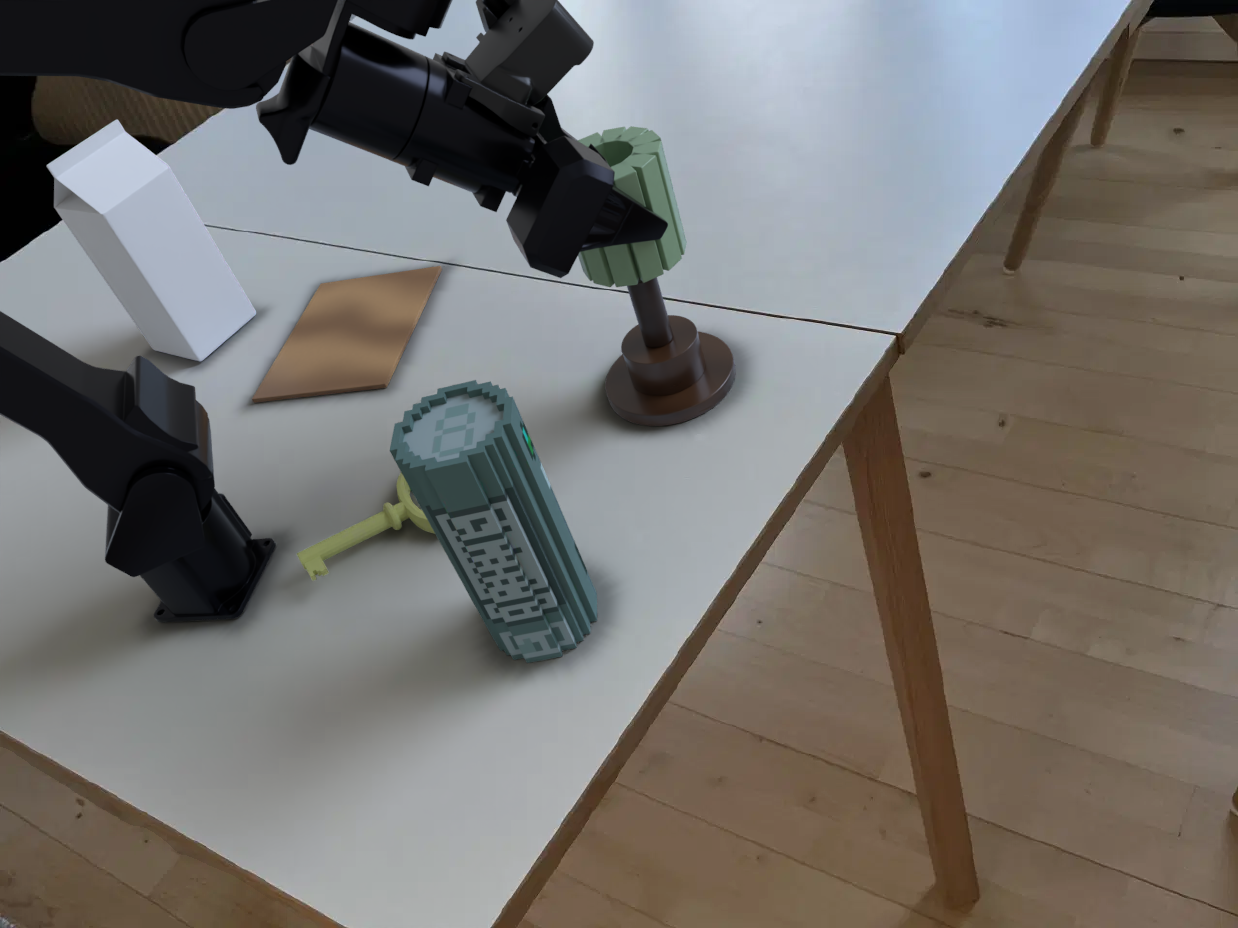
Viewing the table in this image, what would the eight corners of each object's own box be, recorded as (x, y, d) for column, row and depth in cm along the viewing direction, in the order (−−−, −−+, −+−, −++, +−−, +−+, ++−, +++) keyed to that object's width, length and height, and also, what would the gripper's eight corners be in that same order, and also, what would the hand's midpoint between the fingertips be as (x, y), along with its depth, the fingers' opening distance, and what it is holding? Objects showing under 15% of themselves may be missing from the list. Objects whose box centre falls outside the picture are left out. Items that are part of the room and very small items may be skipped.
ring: (679, 279, 64) (652, 175, 59) (575, 293, 65) (540, 192, 61) (691, 220, 68) (667, 118, 64) (593, 234, 70) (562, 137, 65)
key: (299, 580, 69) (284, 558, 67) (435, 459, 74) (423, 437, 73) (365, 624, 64) (350, 601, 63) (504, 492, 70) (493, 469, 68)
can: (596, 567, 63) (514, 370, 53) (597, 649, 58) (508, 451, 48) (498, 586, 64) (399, 397, 54) (492, 669, 59) (383, 479, 49)
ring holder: (730, 419, 69) (702, 307, 63) (598, 432, 72) (559, 325, 66) (740, 334, 75) (715, 225, 70) (619, 348, 78) (584, 244, 72)
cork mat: (387, 387, 82) (384, 383, 82) (253, 403, 86) (251, 399, 85) (442, 269, 93) (440, 265, 93) (322, 286, 97) (320, 283, 97)
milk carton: (258, 314, 96) (142, 120, 84) (201, 364, 92) (71, 168, 80) (210, 305, 100) (92, 118, 88) (154, 352, 96) (22, 163, 84)
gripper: (515, 6, 47) (781, 140, 55) (430, -76, 61) (652, 40, 69) (417, 230, 51) (676, 323, 59) (359, 106, 65) (575, 194, 73)
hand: (644, 208), depth 65 cm, fingers closed on ring, 6 cm apart
